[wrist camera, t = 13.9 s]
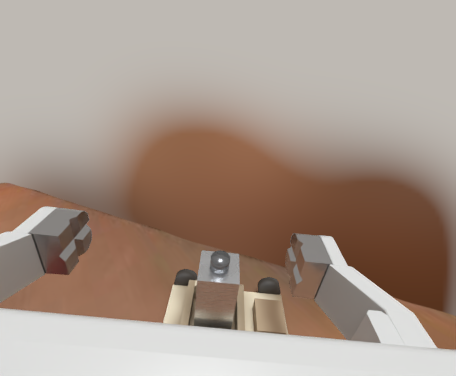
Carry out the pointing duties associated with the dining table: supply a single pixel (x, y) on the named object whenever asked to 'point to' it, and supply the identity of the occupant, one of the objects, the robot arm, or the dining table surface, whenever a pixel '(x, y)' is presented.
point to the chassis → (244, 310)
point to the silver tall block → (216, 289)
